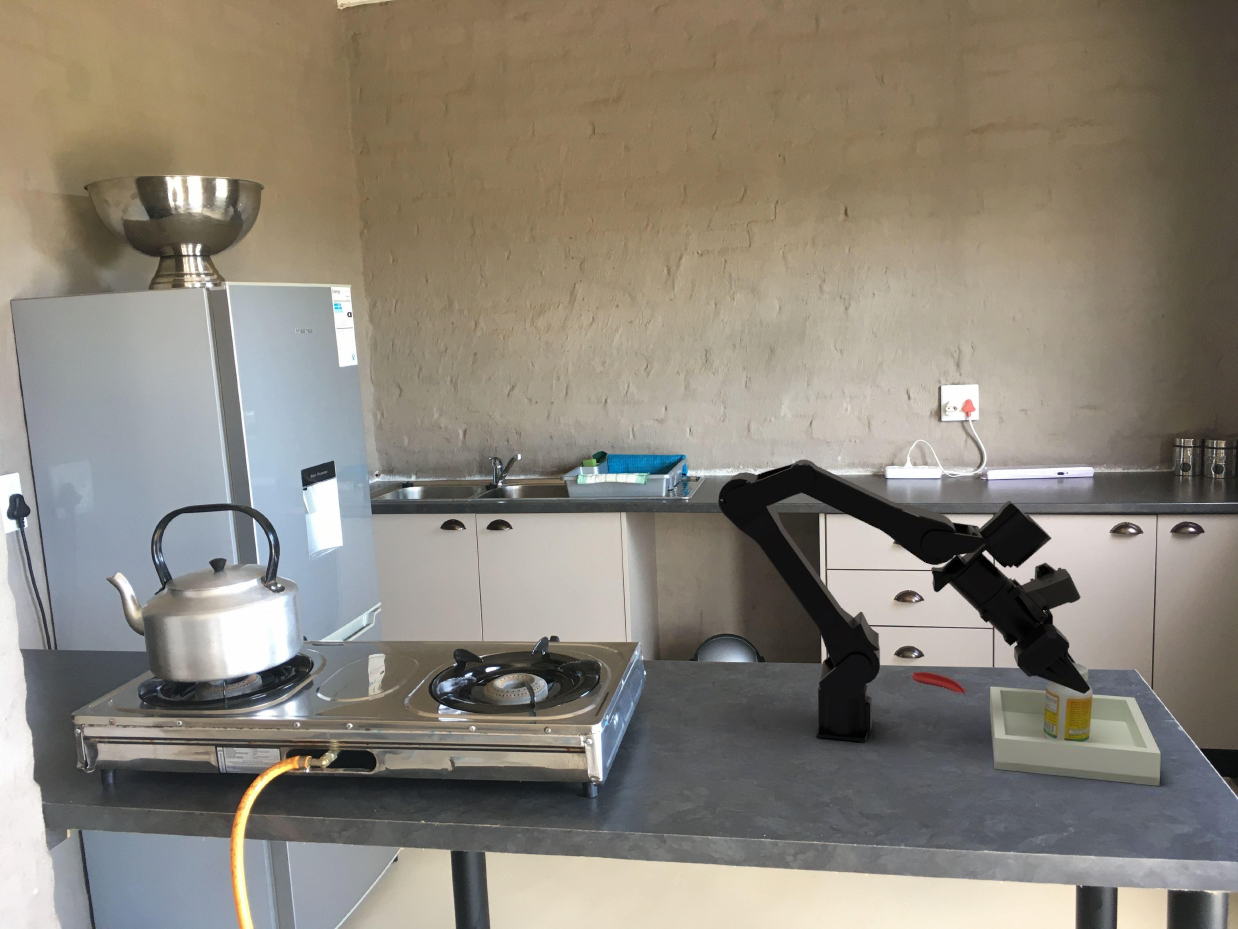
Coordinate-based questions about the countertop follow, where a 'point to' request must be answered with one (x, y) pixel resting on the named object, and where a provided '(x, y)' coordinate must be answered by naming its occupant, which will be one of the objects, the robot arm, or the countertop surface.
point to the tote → (1109, 755)
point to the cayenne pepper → (937, 681)
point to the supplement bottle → (1068, 711)
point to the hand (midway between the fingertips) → (1080, 679)
